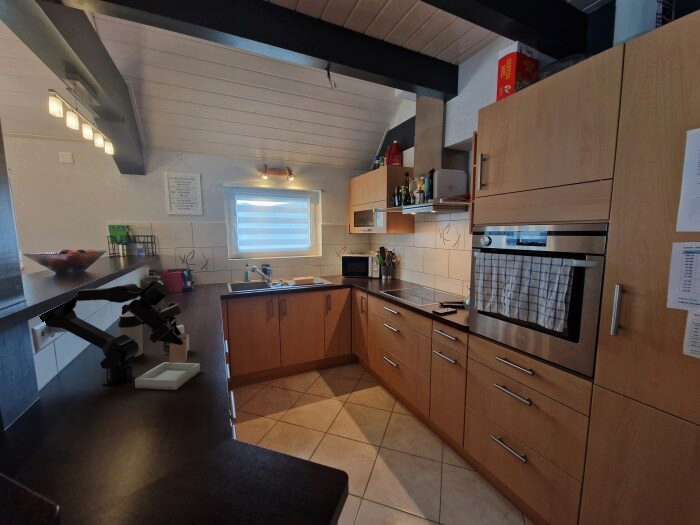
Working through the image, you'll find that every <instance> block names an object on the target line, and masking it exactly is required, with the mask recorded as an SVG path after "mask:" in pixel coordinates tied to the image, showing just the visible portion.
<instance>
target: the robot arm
mask: <svg viewBox="0 0 700 525" xmlns="http://www.w3.org/2000/svg"><path fill="white" fill-rule="evenodd" d="M169 295H171V291H170V289H169V288H168V286H166V285H164V284H162V283H160V282H158V281H157V280H153V281H151V282H150V283H149V284H148V285H147V286H145V288H144V287H139V286H138V285H137V284H135V283H128V284H123V285H122V284H121V285H118V286H112V287H103V288H101V287H100V288H83V289H82V290H79V292H78V296H77V297H75V298H73V299H72V300H70V301H68V302H66V303H64V304H62V305H60V306H58V307H56V308H54V309H52V310H50V311H48V312H46V313H44V314H42V315H41V316H39V317H40V319H41V320H42V322H44V321H45V323H46V327H48V328H54V329H55V328H56V329H61V330H65V331H67V332H68V333H70V334H73V335H74V336H76V337H79V338H80V339H82V340H84V341H86V342H88V343H90V344H92V345H93V346H96V347H97V348H99V349H101V350H102V353H103V355H104V357H105V358H103V360H101V361H100V362H99V363H100V366H101V369H103V370H104V369H105V370H106V381H104V382H102V386H103V385H104V386H105V385H106V386H122V385H123V384H125V383H127V382H129V381H131V380H132V379H135V377H136V375H133V366H132V362H131V361H132V360H134V359H135V358H136V357H135V355H136V354H137V353H138V350H139V347H138V343H137V342H136V341H134V340H135V339H132V338H130V337H128V336H127V335H125V334H124V335H121V336H119V335H118V336H113V335H111V334H110V333H108V332H106V331H104V330H102V329H100V328H98V327H96V326H95V325H94V324H91V323H89V322H88V321H86V320H84V319H82V318H80V317H78V316H77V314H76V311H75V310H74V309H75V308H76V306H77V303H78V302H83V301H84V302H86V301H108V302H110V303H119V304H123V303H127V302H130V303H127V304H123V305H122V306H121V314H122V315H124V314H125V313H128V312H130V313H132V314H133V315H134V316H136V317H137V318H138V319H139V320H141V321H142V323H141V324H142V326H144V325H146V326H147V327H148V328H150V329H151V331H150V332H151V333H150V335H149V341H151V342H152V343H153V344H155V343H157V342H163V343H164V342H168V343H173V344H177V345H182V344H183V342H182V340H181V339H180V338H179V337H178V336H177V335H176V334H182V333H181V332H180V330H179V329H178V327H177V324H178V320H177V317H178V315H181V314H182V312H183V309H182V307H181V305H180V303H179V302H178V303H176V302H174V301H172V302H169V304H168V307H166V308H164V309H161V307H157V308H156V307H155V306H158V305H159V304H160V303H161V302H162V301H163V300H164V299H166V298H167V297H168V296H169ZM139 297H140V298H139ZM138 298H139V299H138Z"/></svg>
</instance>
